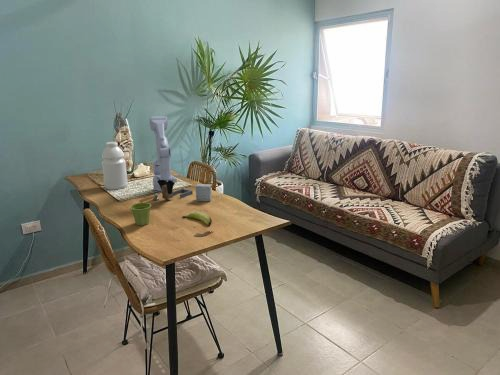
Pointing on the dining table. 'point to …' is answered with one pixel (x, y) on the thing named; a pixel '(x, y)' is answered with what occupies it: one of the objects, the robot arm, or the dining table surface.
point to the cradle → (185, 192)
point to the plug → (166, 193)
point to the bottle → (114, 167)
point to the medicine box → (203, 192)
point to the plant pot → (141, 213)
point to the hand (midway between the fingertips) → (167, 193)
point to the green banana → (201, 217)
